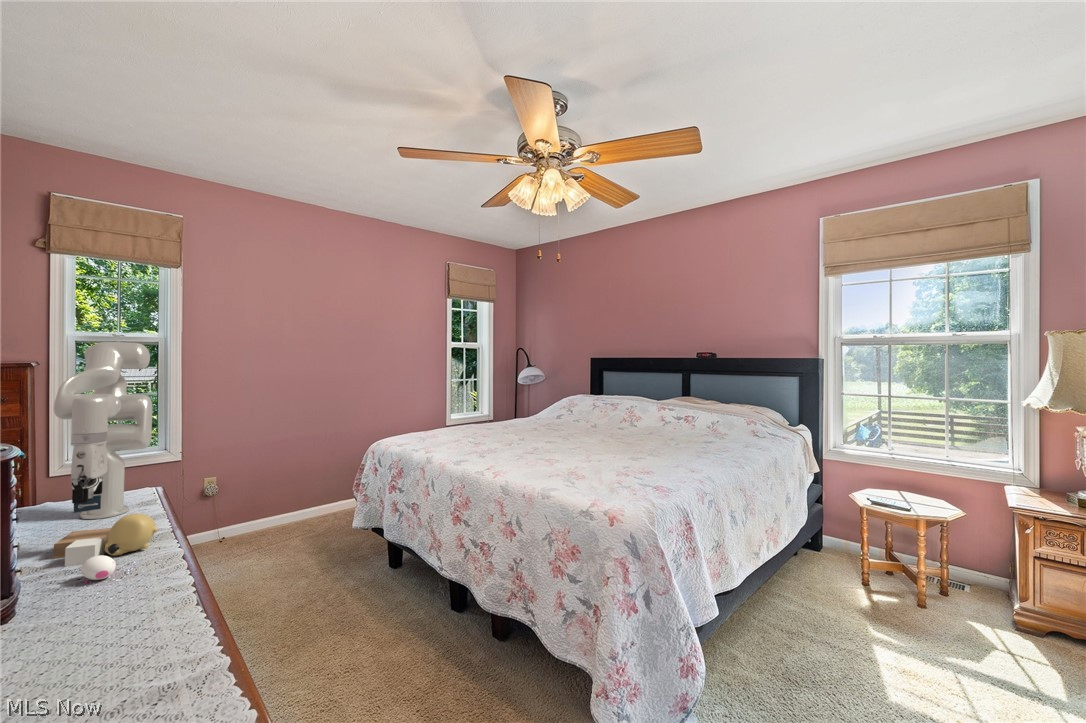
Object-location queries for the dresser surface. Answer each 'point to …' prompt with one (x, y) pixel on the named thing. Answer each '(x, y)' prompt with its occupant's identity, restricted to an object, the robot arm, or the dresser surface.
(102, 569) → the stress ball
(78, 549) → the off-white block
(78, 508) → the watch
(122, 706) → the dresser surface
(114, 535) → the beige rounded piece
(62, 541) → the walnut block
